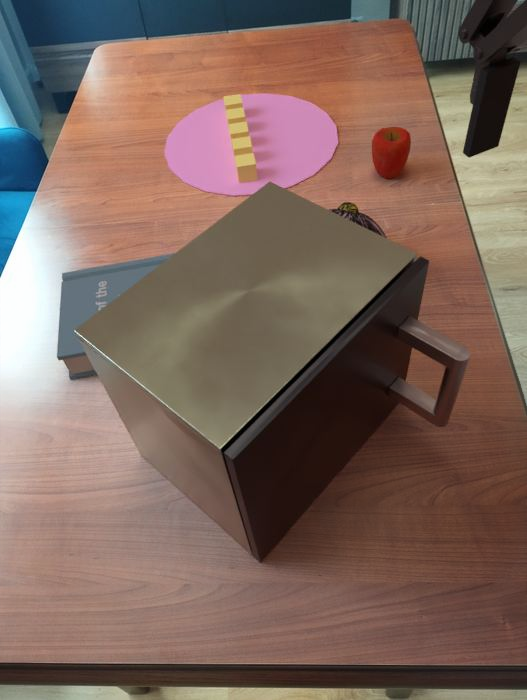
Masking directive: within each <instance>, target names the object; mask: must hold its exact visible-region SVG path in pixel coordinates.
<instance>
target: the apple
mask: <svg viewBox="0 0 527 700" xmlns="http://www.w3.org/2000/svg"><path fill="white" fill-rule="evenodd" d="M411 145H412V139H411V133H410V132H409V130H407V129H405V128H403V127H400V126H388V127H382V128H380V129H379V130H378V131H376V132H375V134H374V135H373V138H372V140H371V158H372V163H373V167H374V169H375V171H376V172H377V174H378V175H379V176H380V177H381V178H384V179H394V178H397V177H398V176H400V175H401V174H402V172H403V170H404V169H405V167H406V165H407V163H408V159H409V156H410V151H411Z"/></svg>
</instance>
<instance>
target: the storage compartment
mask: <svg viewBox="0 0 527 700" xmlns="http://www.w3.org/2000/svg"><path fill="white" fill-rule="evenodd" d="M417 259H418V252H416V251H414V250H412V249H409V248H407V247H405V246H403V245H401V244H400V243H397V242H396V241H393V240H391V239H389V238H388V237H387V238H385V237H383V236H381V235H379V234H377V233H375V232H373V231H371V230H368V229H366V228H364V227H362V226H360V225H358V224H356V223H354V222H352V221H350V220H348V219H346V218H344V217H342V216H340V215H338V214H336V213H334V212H332V211H330V209H328V208H325V207H323V206H321V205H319V204H318V203H315V202H313V201H311V200H309V199H307V198H305V197H303V196H301V195H299V194H297V193H294V192H293V191H291V190H288V189H287V188H286V189H284V188H282V187H280V186H278V185H276V184H274V183H272V182H268V183H267V184H266V185H264V186H263V187H262V188H260V189H259V190H258V191H256V192H255V193H254V194H253V195H249V196H248V197H247V198H246V199H244V200H243V201H241V203H239V204H238V205H237V206H235V207H234V208H233V209H231V210H230V211H229V212H228V213H226V214H224V216H222V217H221V218H219V219H218V220H217V221H216V222H214V223H213V224H212V225H211V226H209V227H208V228H207V229H205V230H203V231H202V232H200V234H199V235H197V236H196V237H194V238H193V239H192V240H191V241H189V242H188V243H187V244H186V245H184V246H183V247H181V248H180V249H178V251H176V252H175V254H174V255H172V256H171V257H170V258H168V259H167V260H166V261H164V262H163V263H162V264H161V265H159V266H158V267H157V268H155V269H154V270H153V271H151V272H150V273H149V274H147V275H146V276H145V277H143V278H142V279H141V280H139V281H138V282H137V283H136V284H134V285H133V286H132V287H130V288H129V289H128V290H126V291H125V292H124V293H122V294H121V295H120V296H118V297H117V298H116V299H114V300H113V301H112V302H111V303H109V304H108V305H107V306H105V307H104V308H103V309H101V310H100V311H99V312H97V313H96V314H95V315H93V316H92V317H91V318H90V319H88V320H87V321H86V322H84V323H83V324H82V325H80V326H79V327H78V328H76V329H75V330H74V332H75V334H76V336H77V338H78V339H79V341H80V343H81V345H82V347H83V349H84V351H85V352H86V354H87V356H88V358H89V360H90V362H91V364H92V365H93V367H94V369H95V371H96V373H97V375H96V376H97V377H98V378H99V380H100V382H101V384H102V386H103V388H104V390H105V392H106V393H107V395H108V397H109V399H110V400H111V403H112V404H113V406H114V408H115V410H116V412H117V414H118V416H119V417H120V420H121V421H122V423H123V425H124V427H125V429H126V430H127V433H128V435H129V437H130V438H131V440H132V442H133V444H134V445H135V447H136V449H137V451H138V453H139V454H140V457H141V458H142V459H143V460H145V462H147V464H149V465H150V466H151V467H152V468H153V469H155V470H156V471H157V472H158V473H159V474H160V475H161V476H163V477H164V478H165V479H166V480H167V481H168V482H169V483H170V484H171V485H173V486H174V487H175V489H177V490H178V491H179V492H180V493H181V494H182V495H183V496H185V497H186V498H187V499H188V500H189V501H190V502H191V503H193V505H195V506H196V507H197V508H198V509H199V510H201V512H203V514H205V515H206V516H207V517H208V518H209V519H210V520H212V522H214V524H216V525H217V526H218V527H219V528H221V530H223V531H224V532H225V534H227V535H228V536H229V537H230V538H232V539H233V540H234V541H235V542H236V543H237V544H238V545H239V546H240V547H242V548H243V550H245V551H246V552H247V553H248V554H249V555H250V556H254V555H253V552H252V548H251V545H250V541H249V538H248V535H247V531H246V528H245V524H244V521H243V518H242V514H241V511H240V507H239V504H238V501H237V497H236V494H235V490H234V487H233V483H232V480H231V477H230V473H229V470H228V466H227V463H226V460H225V456H224V452H225V451H226V450H227V449H228V448H229V447H230V446H231V445H232V444H233V443H234V442H235V441H236V440H237V439H238V438H239V437H240V436H241V435H242V434H243V433H244V432H245V431H246V430H247V429H248V428H249V427H250V426H251V425H252V424H253V423H254V422H255V421H256V420H257V419H258V418H259V417H260V416H261V415H262V414H263V413H264V412H265V411H266V410H267V409H268V408H269V407H270V406H271V405H272V404H273V403H274V402H275V401H276V400H277V399H278V398H279V397H280V396H281V395H282V394H283V393H284V392H285V391H286V390H287V389H288V388H289V387H290V386H291V385H292V384H293V383H294V382H295V381H296V380H297V379H298V378H299V377H300V376H301V375H302V374H303V373H304V372H305V371H306V370H307V369H308V368H309V367H310V366H311V365H312V364H313V363H314V362H315V361H316V360H317V359H318V358H319V357H320V356H321V355H322V354H323V353H324V352H325V351H326V350H327V349H328V348H329V347H330V346H331V345H332V344H333V343H334V342H335V341H336V340H337V339H338V338H339V337H340V336H341V335H342V334H343V333H344V332H345V331H346V330H347V329H348V328H349V327H350V326H351V325H352V324H353V323H354V322H355V321H356V320H357V319H358V318H359V317H360V316H361V315H362V314H363V313H364V312H365V311H366V310H367V309H368V308H369V307H370V306H371V305H372V304H373V303H374V302H375V301H376V300H377V299H378V298H379V297H380V296H381V295H382V294H383V293H384V292H385V291H386V290H387V289H388V288H389V287H390V286H391V285H392V284H393V283H394V282H395V281H396V280H397V279H398V278H399V277H400V276H401V275H402V274H403V273H404V272H405V271H406V270H407V269H408V268H409V267H410V266H411V265H412V264H413V263H414V262H415V261H416V260H417Z"/></svg>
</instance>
